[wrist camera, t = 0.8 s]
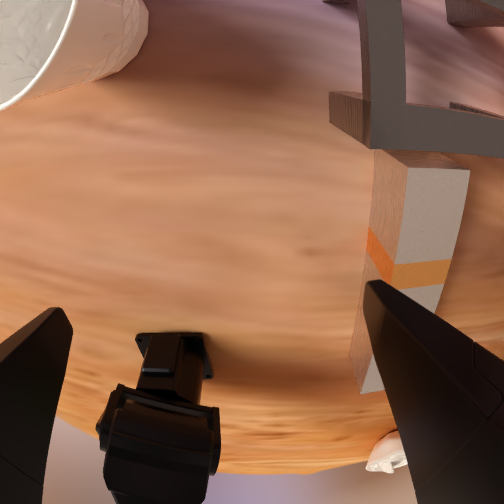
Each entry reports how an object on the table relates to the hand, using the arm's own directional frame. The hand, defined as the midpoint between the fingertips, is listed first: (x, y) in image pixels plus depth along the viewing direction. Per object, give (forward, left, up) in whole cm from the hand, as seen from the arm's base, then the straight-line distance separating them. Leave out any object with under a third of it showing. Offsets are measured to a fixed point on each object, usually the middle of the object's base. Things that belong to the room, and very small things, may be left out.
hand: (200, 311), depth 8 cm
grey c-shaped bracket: (+8, -12, -13) cm, 19 cm away
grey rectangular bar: (-9, -12, -13) cm, 20 cm away
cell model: (-43, -22, -14) cm, 50 cm away
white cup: (+11, +7, -14) cm, 19 cm away
